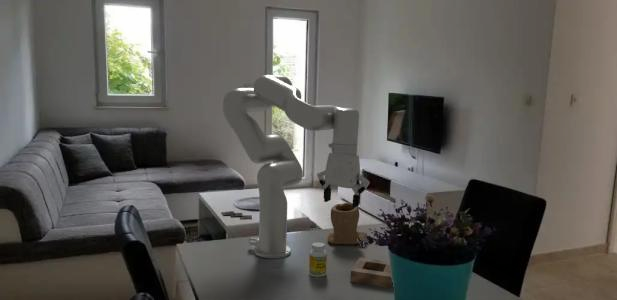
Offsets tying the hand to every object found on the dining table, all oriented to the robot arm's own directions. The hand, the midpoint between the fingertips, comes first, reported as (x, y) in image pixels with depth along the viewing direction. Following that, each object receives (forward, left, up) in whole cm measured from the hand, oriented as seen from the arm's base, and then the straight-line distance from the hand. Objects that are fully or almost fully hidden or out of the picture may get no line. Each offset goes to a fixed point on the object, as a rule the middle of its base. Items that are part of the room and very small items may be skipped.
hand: (341, 203), depth 154 cm
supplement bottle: (-6, -3, -23) cm, 24 cm away
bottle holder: (+11, +1, -22) cm, 25 cm away
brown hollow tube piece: (-4, +29, -23) cm, 37 cm away
